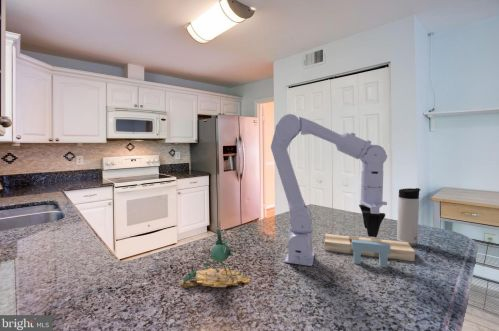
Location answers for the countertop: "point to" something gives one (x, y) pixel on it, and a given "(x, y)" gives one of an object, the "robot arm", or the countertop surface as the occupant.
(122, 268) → the countertop surface
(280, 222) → the countertop surface
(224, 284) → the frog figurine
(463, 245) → the countertop surface
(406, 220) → the travel mug
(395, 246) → the rail
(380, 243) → the clip
